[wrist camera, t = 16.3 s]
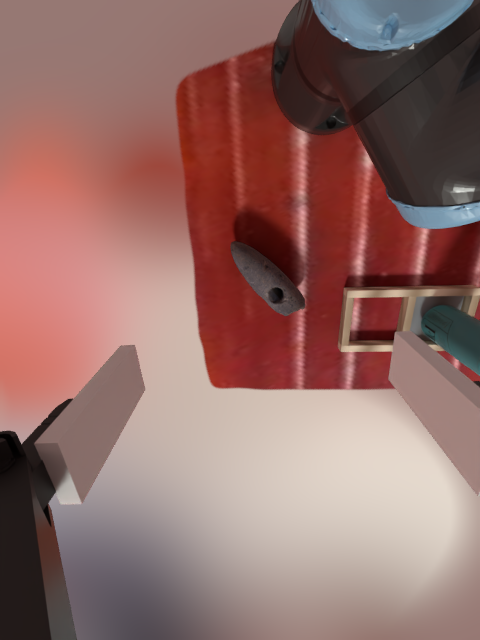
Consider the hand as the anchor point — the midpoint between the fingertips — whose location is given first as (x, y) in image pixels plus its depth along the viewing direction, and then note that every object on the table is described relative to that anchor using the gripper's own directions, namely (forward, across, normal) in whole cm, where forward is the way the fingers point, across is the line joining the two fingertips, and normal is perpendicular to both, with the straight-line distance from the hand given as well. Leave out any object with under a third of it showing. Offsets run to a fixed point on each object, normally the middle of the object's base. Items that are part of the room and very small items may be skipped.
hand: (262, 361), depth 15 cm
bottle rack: (+36, +26, -14) cm, 47 cm away
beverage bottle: (+36, +31, -14) cm, 49 cm away
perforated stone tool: (+37, +2, -4) cm, 37 cm away
